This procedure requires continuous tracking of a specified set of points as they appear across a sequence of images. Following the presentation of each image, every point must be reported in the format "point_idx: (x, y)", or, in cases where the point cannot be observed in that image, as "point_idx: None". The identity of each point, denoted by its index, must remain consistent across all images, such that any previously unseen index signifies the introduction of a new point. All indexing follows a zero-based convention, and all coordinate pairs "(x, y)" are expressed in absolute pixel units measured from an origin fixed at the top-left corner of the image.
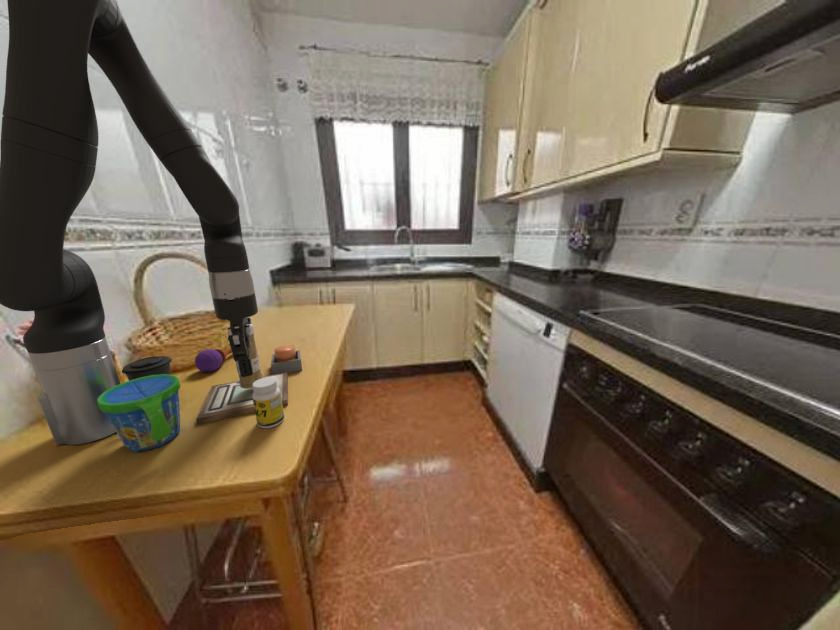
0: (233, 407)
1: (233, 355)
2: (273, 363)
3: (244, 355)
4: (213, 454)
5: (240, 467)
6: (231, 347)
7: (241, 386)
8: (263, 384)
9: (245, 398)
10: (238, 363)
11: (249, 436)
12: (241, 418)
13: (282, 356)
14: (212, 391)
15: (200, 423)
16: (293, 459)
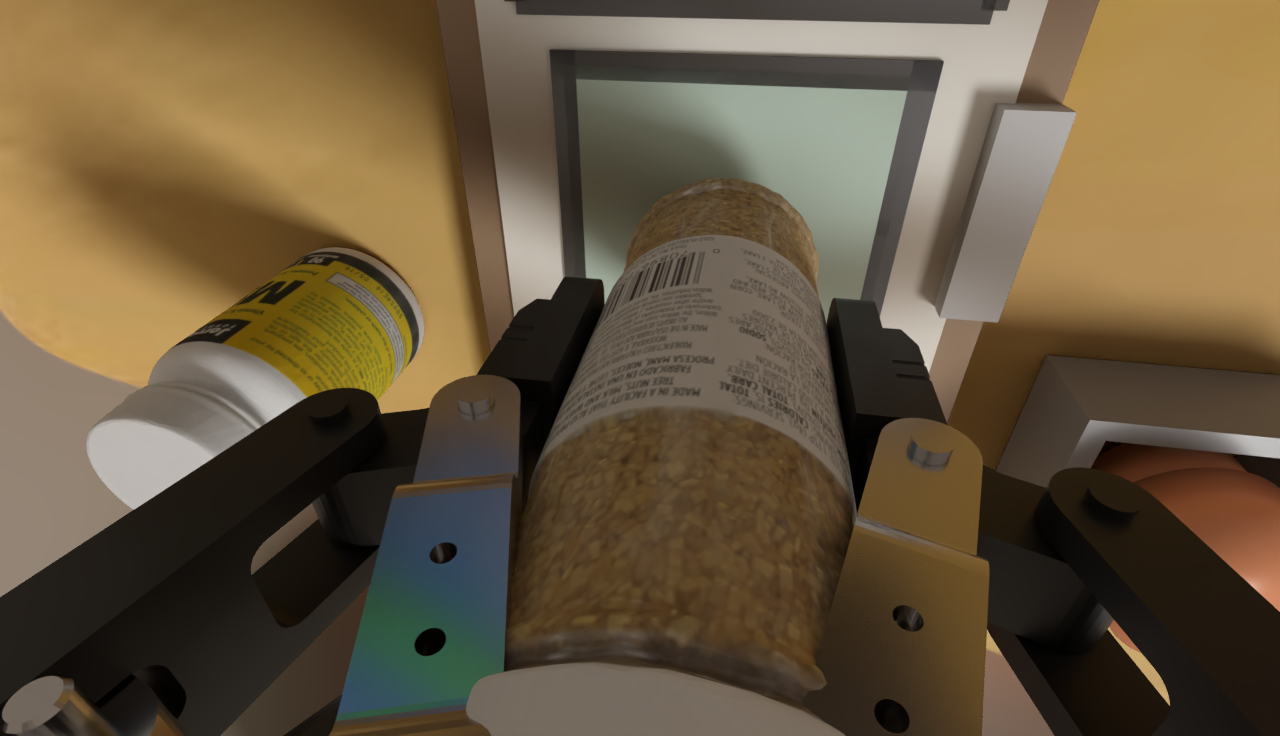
0: (490, 109)
1: (223, 458)
2: (1097, 439)
3: (323, 529)
4: (82, 21)
5: (13, 174)
6: (44, 581)
7: (664, 198)
8: (128, 477)
9: (601, 191)
10: (518, 356)
11: (237, 204)
12: (433, 149)
13: None
14: None
15: None
16: (87, 363)
